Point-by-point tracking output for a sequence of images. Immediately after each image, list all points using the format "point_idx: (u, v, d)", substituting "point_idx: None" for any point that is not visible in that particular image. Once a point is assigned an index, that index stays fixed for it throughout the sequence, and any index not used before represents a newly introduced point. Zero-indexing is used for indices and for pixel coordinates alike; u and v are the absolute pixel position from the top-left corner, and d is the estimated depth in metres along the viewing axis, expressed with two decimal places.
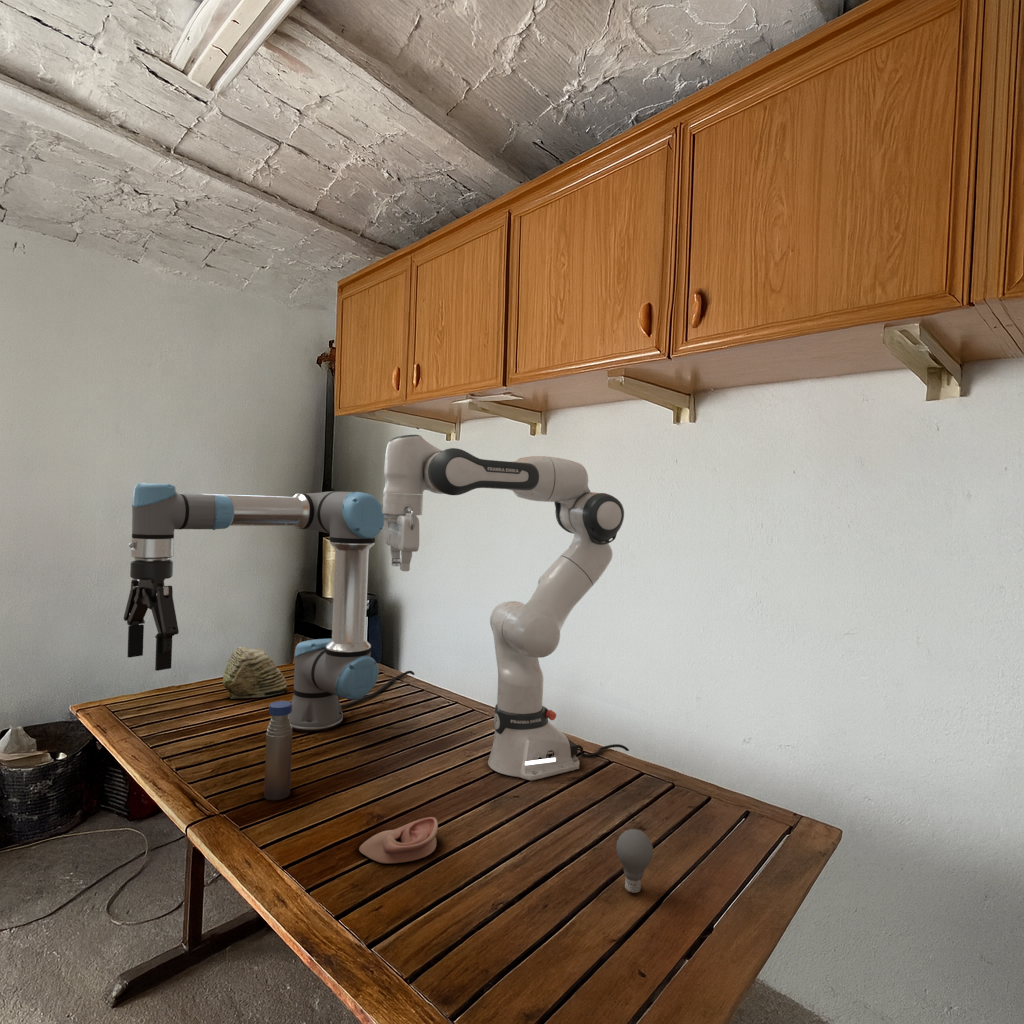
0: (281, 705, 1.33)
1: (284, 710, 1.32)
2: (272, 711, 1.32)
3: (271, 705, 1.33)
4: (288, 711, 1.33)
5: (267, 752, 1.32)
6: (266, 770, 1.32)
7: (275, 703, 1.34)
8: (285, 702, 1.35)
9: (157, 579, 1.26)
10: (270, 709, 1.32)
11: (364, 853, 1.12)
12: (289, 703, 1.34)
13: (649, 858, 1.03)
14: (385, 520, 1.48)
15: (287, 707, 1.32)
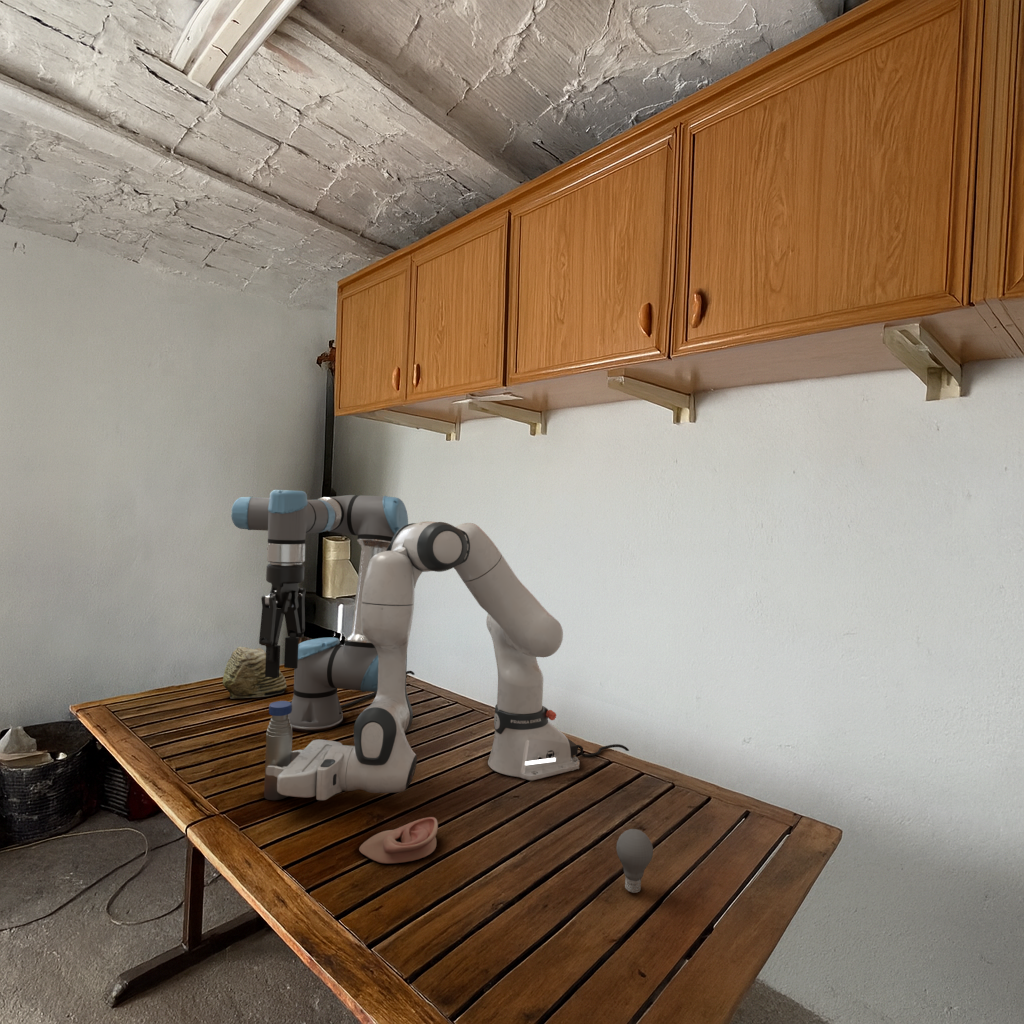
0: (281, 705, 1.33)
1: (285, 710, 1.32)
2: (272, 711, 1.32)
3: (271, 705, 1.33)
4: (288, 711, 1.33)
5: (267, 752, 1.32)
6: None
7: (275, 703, 1.34)
8: (285, 702, 1.35)
9: (274, 583, 1.29)
10: (270, 709, 1.32)
11: (364, 853, 1.12)
12: (289, 703, 1.34)
13: (649, 858, 1.03)
14: None
15: (287, 707, 1.32)
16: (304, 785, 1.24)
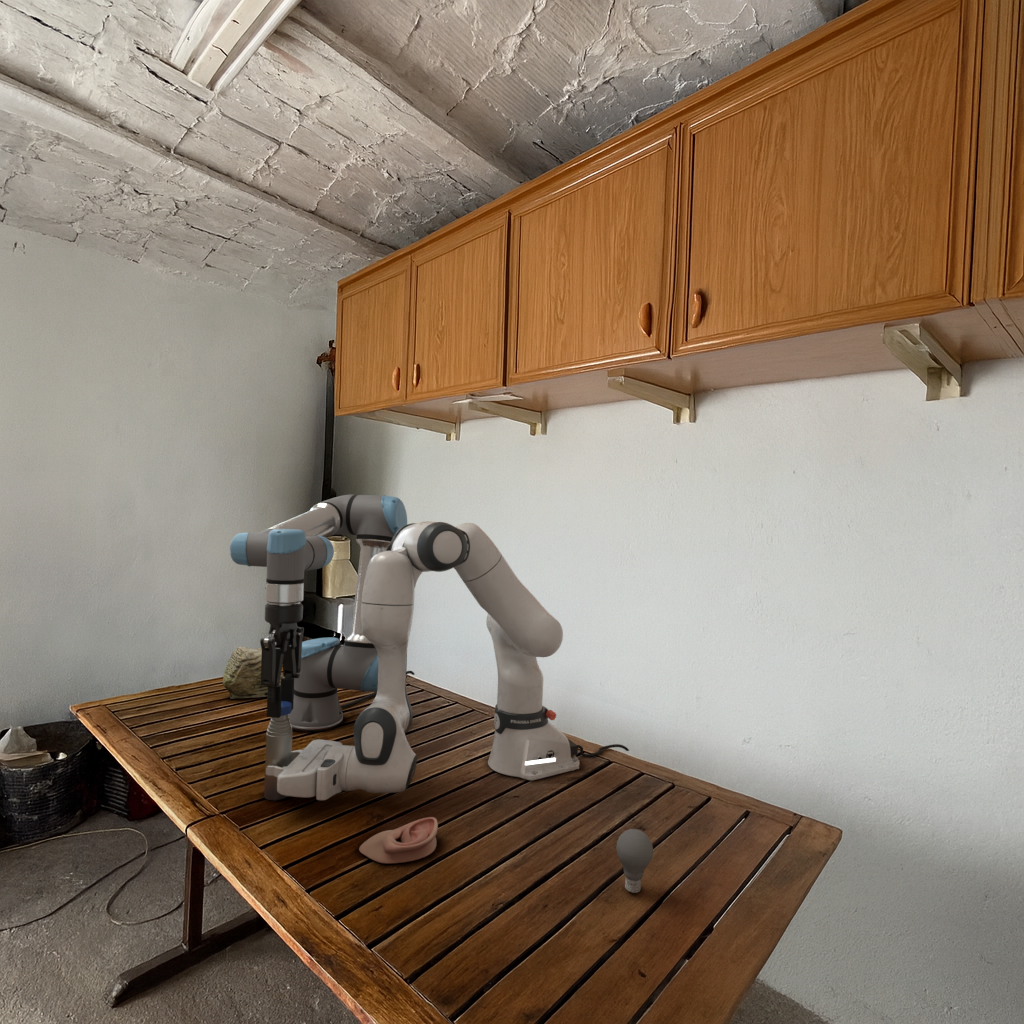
0: (281, 705, 1.33)
1: (285, 710, 1.32)
2: None
3: None
4: (288, 711, 1.33)
5: (267, 752, 1.32)
6: None
7: None
8: (285, 702, 1.35)
9: (272, 624, 1.30)
10: None
11: (364, 853, 1.12)
12: (289, 703, 1.34)
13: (649, 858, 1.03)
14: None
15: (287, 707, 1.32)
16: (304, 785, 1.24)
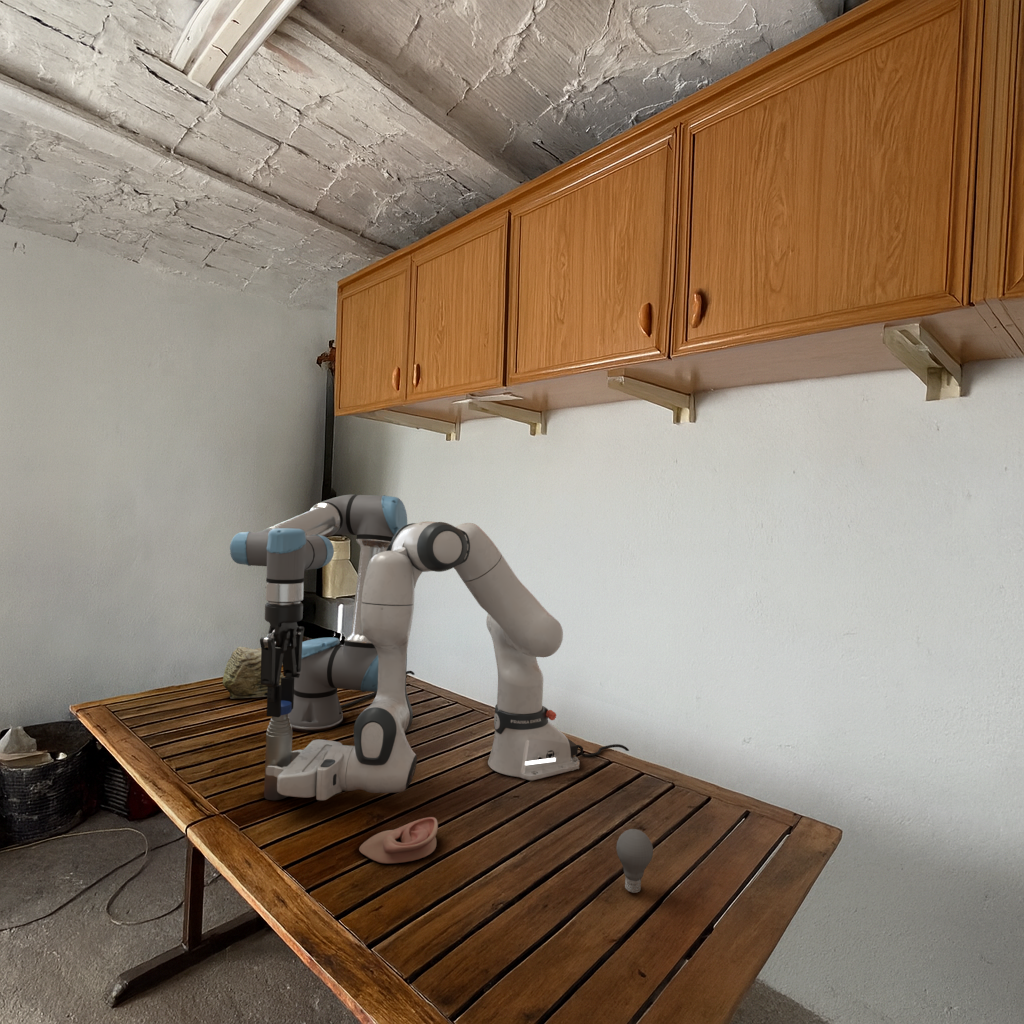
0: (282, 702, 1.34)
1: None
2: (291, 707, 1.34)
3: (288, 704, 1.33)
4: None
5: (267, 752, 1.32)
6: None
7: (281, 705, 1.32)
8: None
9: (272, 623, 1.30)
10: (290, 707, 1.34)
11: (364, 853, 1.12)
12: None
13: (649, 858, 1.03)
14: None
15: None
16: (304, 785, 1.24)
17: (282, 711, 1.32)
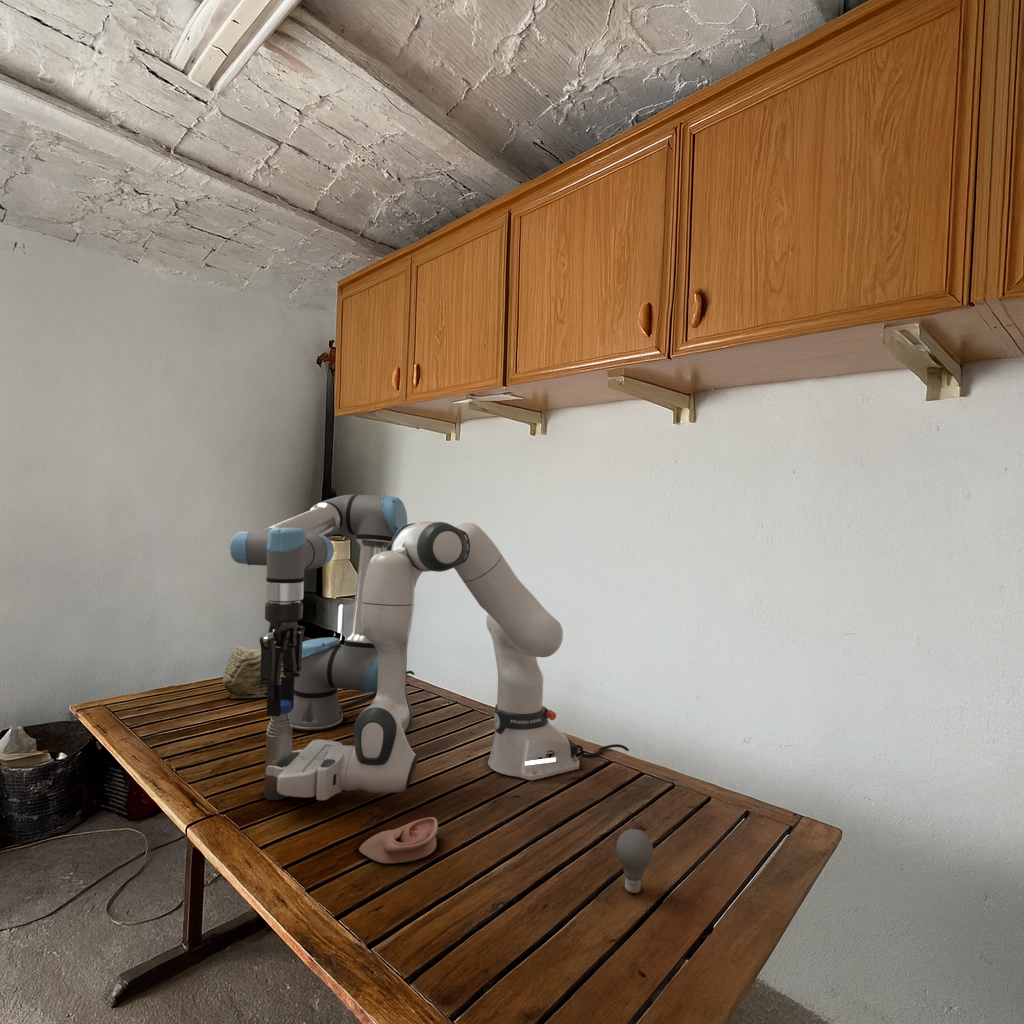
0: None
1: None
2: None
3: None
4: None
5: (267, 752, 1.32)
6: None
7: (284, 701, 1.35)
8: (285, 704, 1.33)
9: (272, 622, 1.30)
10: None
11: (364, 853, 1.12)
12: (281, 705, 1.32)
13: (649, 858, 1.03)
14: None
15: None
16: (304, 785, 1.24)
17: None
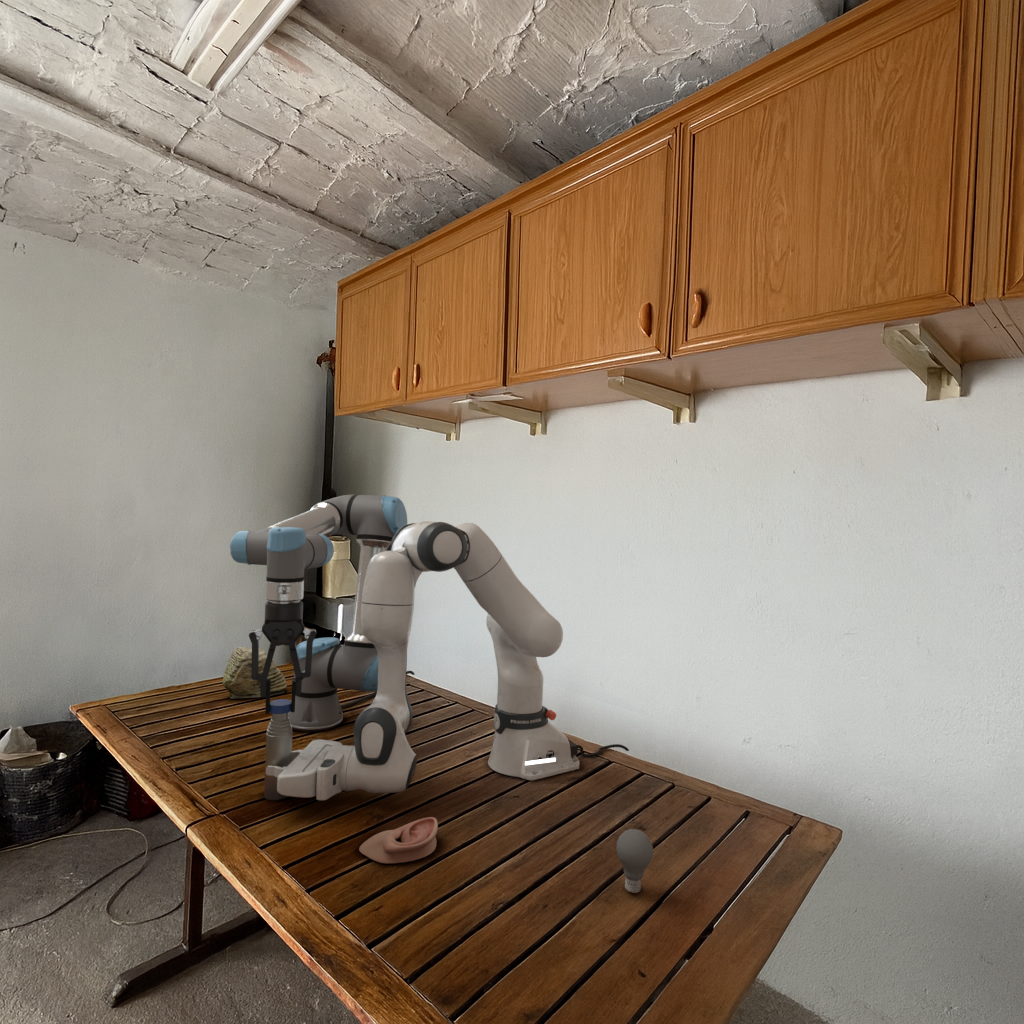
0: (283, 703, 1.33)
1: (289, 706, 1.33)
2: (277, 710, 1.31)
3: (273, 704, 1.32)
4: None
5: (267, 752, 1.32)
6: None
7: (274, 702, 1.33)
8: (282, 700, 1.35)
9: None
10: (273, 708, 1.31)
11: (364, 853, 1.12)
12: (288, 700, 1.35)
13: (649, 858, 1.03)
14: None
15: (290, 704, 1.33)
16: (304, 785, 1.24)
17: None
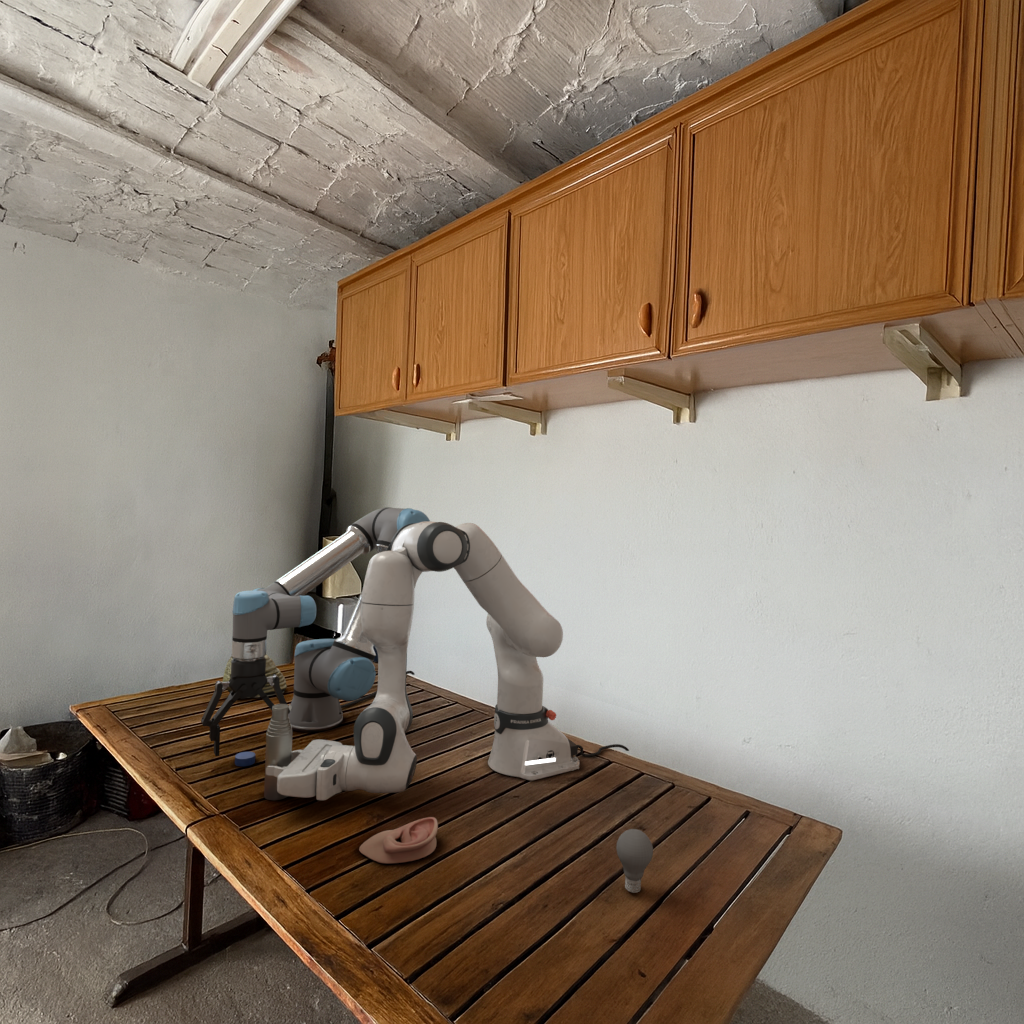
0: (248, 755, 1.49)
1: (254, 758, 1.49)
2: (244, 762, 1.47)
3: (240, 758, 1.47)
4: None
5: (267, 752, 1.32)
6: None
7: (239, 755, 1.48)
8: (245, 752, 1.50)
9: (265, 672, 1.50)
10: (241, 761, 1.47)
11: (364, 853, 1.12)
12: (251, 752, 1.50)
13: (649, 858, 1.03)
14: None
15: None
16: (304, 785, 1.24)
17: (235, 760, 1.48)
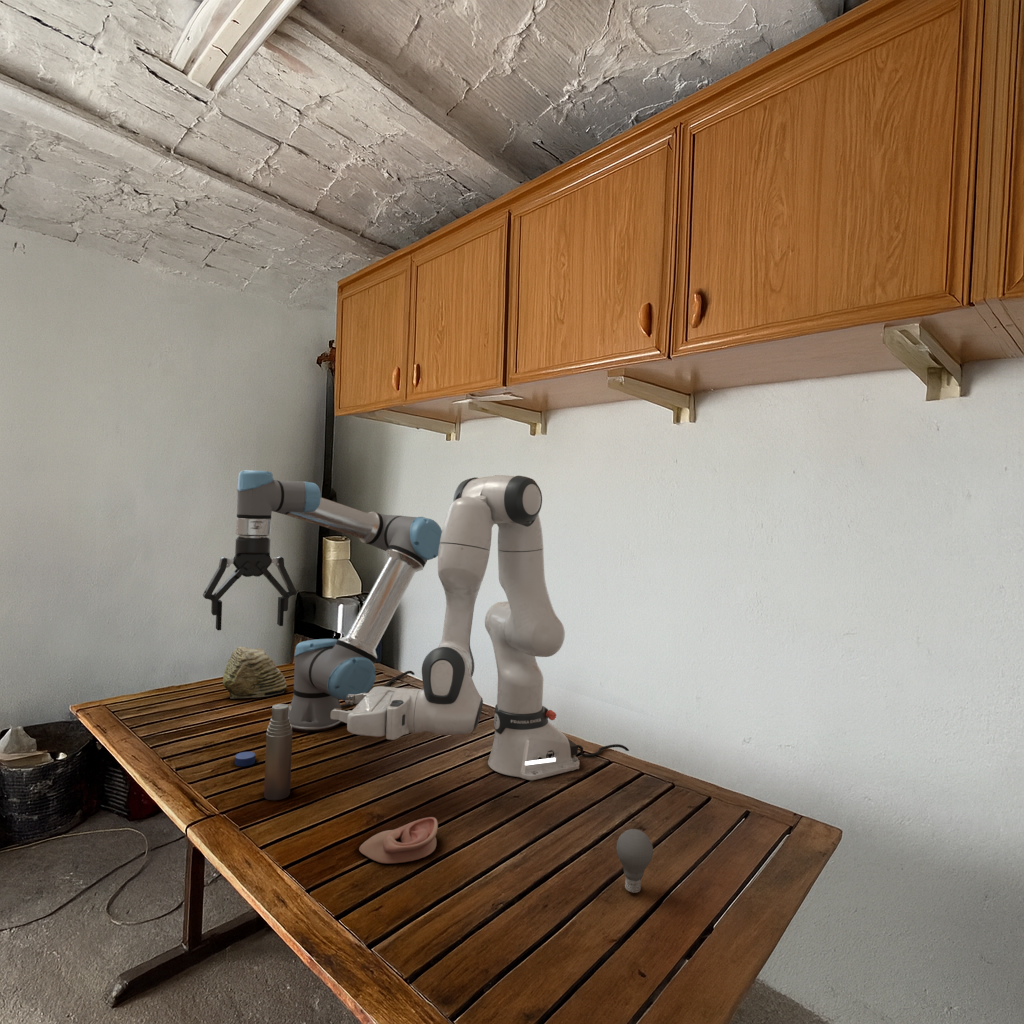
0: (248, 755, 1.49)
1: (254, 758, 1.49)
2: (244, 762, 1.47)
3: (240, 758, 1.47)
4: None
5: (267, 752, 1.32)
6: (266, 770, 1.32)
7: (239, 755, 1.48)
8: (245, 752, 1.50)
9: (269, 553, 1.50)
10: (241, 761, 1.47)
11: (364, 853, 1.12)
12: (251, 752, 1.50)
13: (649, 858, 1.03)
14: None
15: None
16: (375, 724, 1.23)
17: (235, 760, 1.48)
